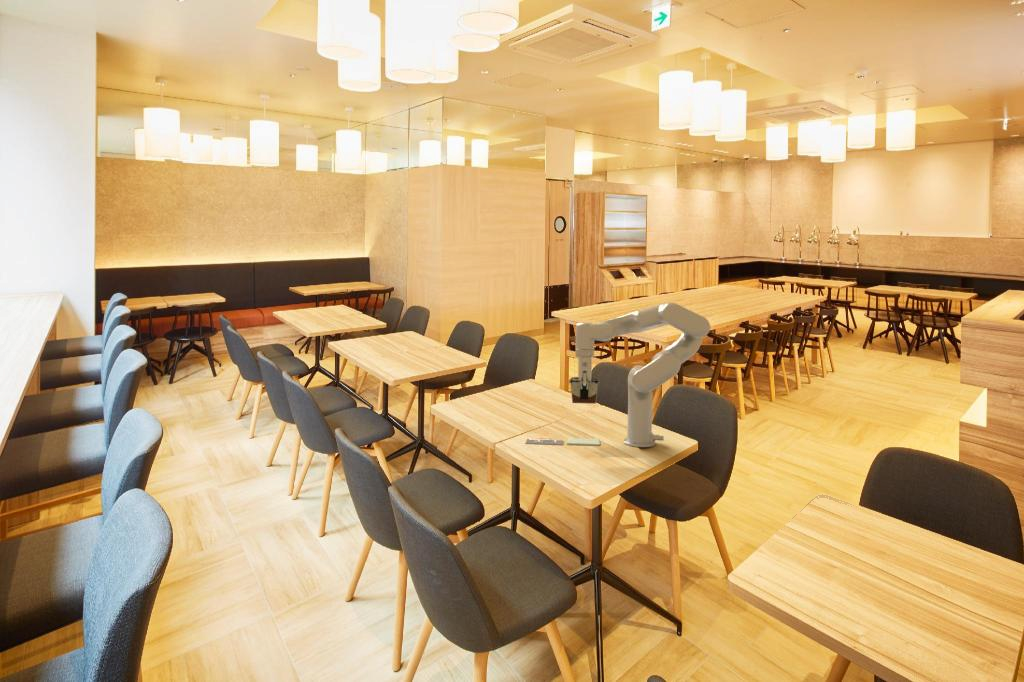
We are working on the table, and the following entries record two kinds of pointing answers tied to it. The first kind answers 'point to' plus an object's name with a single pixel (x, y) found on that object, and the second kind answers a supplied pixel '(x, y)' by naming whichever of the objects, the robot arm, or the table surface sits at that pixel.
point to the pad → (583, 441)
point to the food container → (591, 390)
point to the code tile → (545, 442)
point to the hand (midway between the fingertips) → (583, 397)
